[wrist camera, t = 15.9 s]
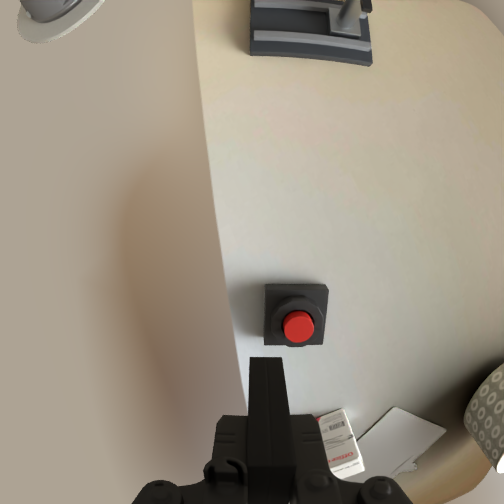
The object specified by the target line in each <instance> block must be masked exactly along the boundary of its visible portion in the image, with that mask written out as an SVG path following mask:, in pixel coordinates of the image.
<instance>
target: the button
mask: <svg viewBox="0 0 504 504" xmlns="http://www.w3.org/2000/svg"><path fill="white" fill-rule="evenodd" d="M283 328H284V333H285V336H286V337H287V338H288V339H289V340H290V341H292V342H303V341H306V340H307V339H309V338H310V337H311V335H312V334H313V331H314V326H313V323H312V320H311V318H310V316H309V315H308V314H307V313H306V312H303V311H294V312H291V313H289V314H288V315H287V316H286V317H285V319H284V322H283Z"/></svg>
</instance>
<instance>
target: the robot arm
mask: <svg viewBox="0 0 504 504" xmlns="http://www.w3.org/2000/svg"><path fill="white" fill-rule="evenodd" d="M81 1H82V0H20V2H21V4H22V5H23V7H24V9H25V10H26V15H27V16H28V17H30V18H31V19H32V20H34V21H36V22H38V23H48V22H52V21H54V20H57V19H59V18H61V17H62V16H64V15H66V14H67V13H69V12H70V11H71V10H73V9H74V8H75V7H76V6H77V5H78V4H79V3H81ZM203 472H204V478H205V479H204V480H202V481H201V482H198V483H196V484H192V485H186V486H177V485H175V484H173V483H171V482H169V481H164V480H157V481H152V482H150V483H148V484H146V485H145V486H144V487H143V488H142V490H141V491H140V493H139V494H138V495H137V497H136V498H135V500H134V501H133V503H132V504H289V503H290V504H413V503H412V502H411V501H410V499H409V498H408V497H407V495H406V494H405V493H404V492H403V490H402V489H401V488H400V486H399V485H398V484H397V483H396V482H395V481H394V480H393V479H392V478H389V477H386V476H374V477H371V478H369V479H367V480H366V481H365V482H364V483H358V482H349V481H344V480H342V479H339V478H338V477H336V476H335V475H334V474H333V473H332V472H331V470H330V468H329V464H328V460H327V455H326V451H325V447H324V443H323V438H322V434H321V430H320V426H319V422H318V421H317V420H316V419H315V417H314V416H313V415H312V414H303V415H290V412H289V405H288V397H287V390H286V383H285V376H284V369H283V362H282V357H250V365H249V401H248V416H232V415H223V416H222V417H221V419H220V420H219V421H218V423H217V426H216V432H215V440H214V446H213V453H212V460H211V461H209V462H208V463H207V464H206V465H205V467H204V470H203Z"/></svg>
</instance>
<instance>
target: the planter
mask: <svg viewBox="0 0 504 504" xmlns="http://www.w3.org/2000/svg"><path fill="white" fill-rule="evenodd" d="M464 425H465V427H466V428H467V430H468V431H469V433H470V434H471V435H472V437H473V438H474V440H475V441H476V442H477V444H478V445H479V447H480V448H481V449H482V451H483V452H484V454H485V455H486V457H487V458H488V459H489V461H490V462H491V464H492V465H493V467H494V468H495V470H496V471H497V472H498V473H504V363H503V364H502V365H500V366H499V367H498V368H497V369H496V370H494V371H493V372H492V373H491V374H490V375H489V376H488V377H487V379H486V380H485V381H484V382H483V383H482V384H481V386H480V387H479V388H478V390H477V391H476V392H475V394H474V395H473V397H472V399H471V400H470V402H469V404H468V406H467V409H466V411H465V415H464Z"/></svg>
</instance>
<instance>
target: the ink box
mask: <svg viewBox="0 0 504 504" xmlns="http://www.w3.org/2000/svg"><path fill="white" fill-rule="evenodd" d="M316 420H317V421H318V422H319V426H320V430H321V434H322V438H323V443H324V447H325V451H326V455H327V460H328V464H329V468H330V470H331V472H332V473H333V474H334V475H335V476H336V477H338V478H339V479H344V478H346V477H349V476H352V475H355V474H357V473H360V472H362V471H365V466H364V463H363V460H362V457H361V454H360V451H359V448H358V445H357V442H356V440H355V437H354V434H353V431H352V428H351V426H350V423H349V421H348V418H347V416H346V413H345V410H344V409H343V408H342V409H339V410H337V411H334V412H332V413H329V414H327V415H324V416H321V417H319V418H316Z"/></svg>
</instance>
